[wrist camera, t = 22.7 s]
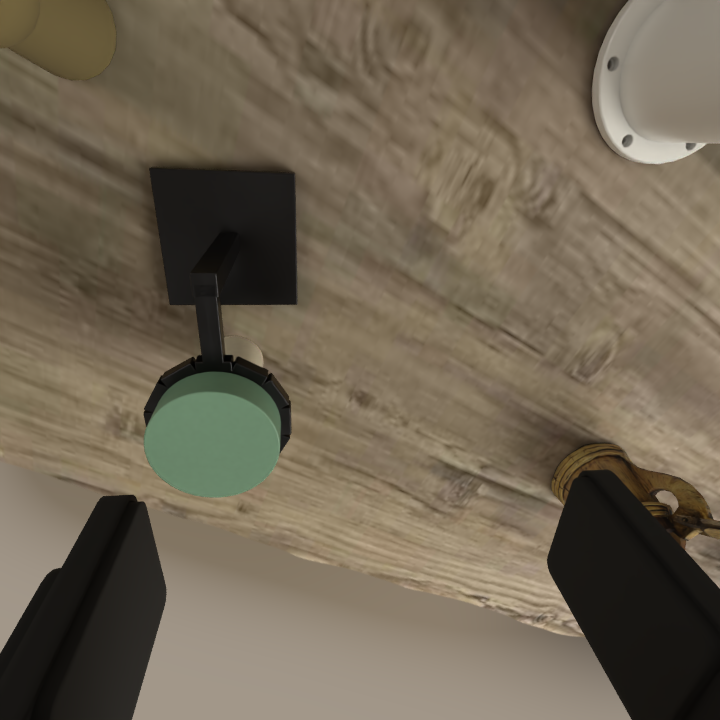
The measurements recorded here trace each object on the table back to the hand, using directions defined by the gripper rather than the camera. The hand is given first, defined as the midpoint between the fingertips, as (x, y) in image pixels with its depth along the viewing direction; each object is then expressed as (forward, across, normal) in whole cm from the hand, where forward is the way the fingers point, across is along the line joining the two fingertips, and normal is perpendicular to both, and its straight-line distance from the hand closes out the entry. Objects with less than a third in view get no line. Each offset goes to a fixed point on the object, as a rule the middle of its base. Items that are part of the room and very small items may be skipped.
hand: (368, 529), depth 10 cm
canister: (+26, +7, +9) cm, 28 cm away
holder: (+29, +7, +4) cm, 30 cm away
